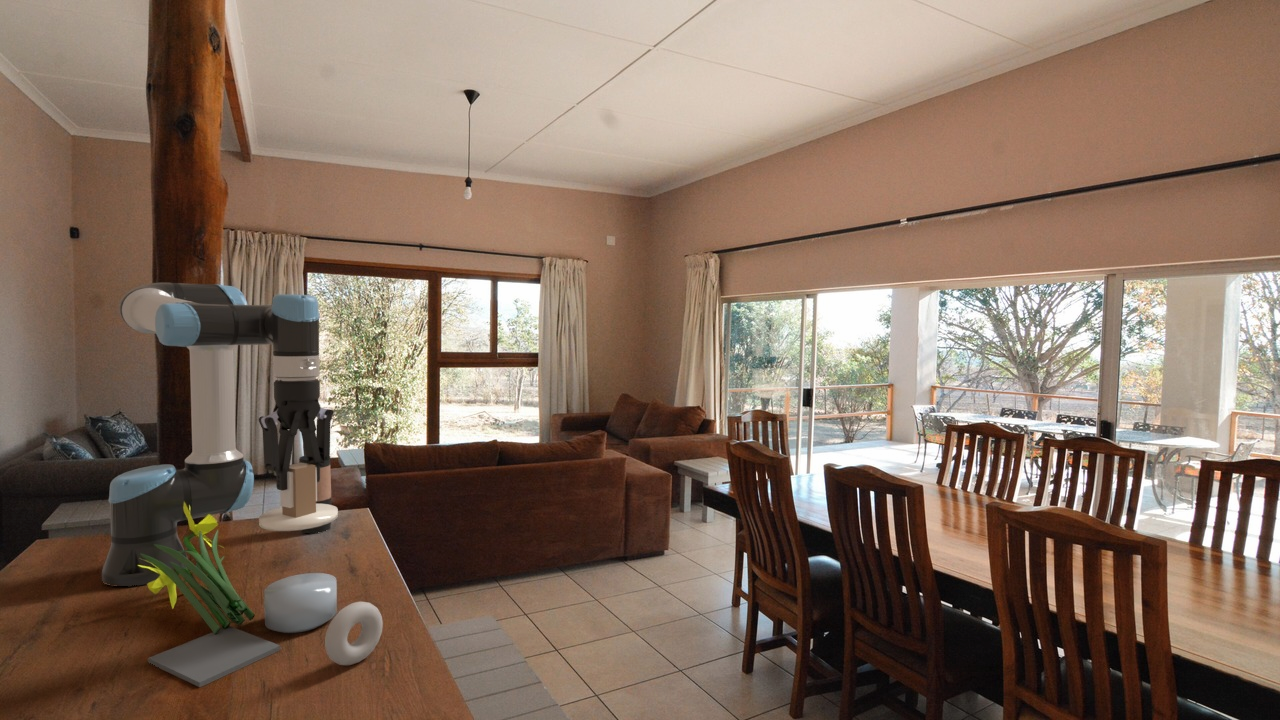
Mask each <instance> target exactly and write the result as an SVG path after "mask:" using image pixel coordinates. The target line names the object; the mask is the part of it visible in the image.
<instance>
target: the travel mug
mask: <svg viewBox="0 0 1280 720" xmlns="http://www.w3.org/2000/svg"><path fill="white" fill-rule="evenodd" d="M298 461H299V462H298V463H307V464H308V462H307V457H306V454H305V455H302V456H300V457H299V459H298ZM331 474H332V472H331V458H330V459H329V460H328V461H324V465H323V466H320V481H319V482H317V501H316V504H329V505H332V480H331V479H332V478H331V477H332V476H331ZM331 523H332V522H330V523H328V524H325V525H322V526H318V527H314V528H309V529H303V530H300V531H301V533H302V532H303V533H302V534H305V533H316V534H319V533H318V532H322V531H325V532H327V531H326V530H328V529H329V530H330V529H331V525H332V524H331ZM329 530H328V531H329ZM322 533H323V532H322Z"/></svg>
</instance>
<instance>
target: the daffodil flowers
mask: <svg viewBox="0 0 1280 720" xmlns="http://www.w3.org/2000/svg"><path fill="white" fill-rule="evenodd" d="M183 509H184V513H185V515H186V517H187V519H188V520H187V521H188V522H187V523H188V526H189V527H188V528H189V530H186V531H185V532H184V535H183V538H182V541H183V543H182V544H184V547H185V548H186V549H184V550H181V551H176V550H174V549H172V548H169V547H165V546H162V545H157V544H154V545H155V546H156V547H157V548H159V549H161V550H163V551H164V552H166V553H168V554H169V555H171V556H173V557H174V558H176V559H177V560H178V561H179V562H181V563H182V564H183V565H184V566H186V567H187V569H186V568H183V567H180V566H178V565H177V564H175V563H173V562H171V561H170V563H171V564H172V566H173V567H174V568H173V569H171V568H170V567H168V566H167V565H165V564H164V563H162V562H160V561H158V560H156V559H154V558H152V557H150V556H147V555H144V554H141V553H140V555H141V556H143V557H144V558H145V559H147V560H148V561H149V563H150V562H151V564H153V565H154V566H155V567H157V568H158V569H156V568H152V567H147V566H141V565H138V566H140V567H143V568H148V569H150V570H153V571H155V572H156V573H158V574H160V576H159V577H158V578H157V579H156V580H154V581H152V582H149V583H148V584H146V585H147V587H148V590H149V592H151V593H153V594H155V595H157V594H158V593H159V592H160V591H161V590H162V589H163V588H164V587H165V586H166V588H167V592H168V597H169V602H170V605H171V609H172V610H173V609H174V607H175V605H176V603H177V597H178V595H177V588H178V589H179V591H180V592H181V593H182V594H183V596H184V598H186V599H187V600H188V603H190V605H191V606H192V607H193V608H194V609H195V611H196V612H197V613H198V614H199V616H200V617H201V618H202V619H203V620H204V623H206V624H207V626H208V627H209V629H210V630H211V631H212V632H213V633H214V634H215V635H216V634H217V633H218V632H219V630H220V629H221V627H222V628H228V627H229V626H231V623H232V624H233V623H234V624H236V625H237V627H240V626H241V625H242V624H243V623H244V622H245V620H246V619H245V618H244V617H243V614H244V615H245V616H246V618H247V619H248V620H249V621H252V620H253V619H254V617H256V616H255V615H256V614H255V613H254V612H253V610H251V609H250V607H249V606H248V605H247V604H246V603H245V601H244V600H243V599H242V597H240V595H239V594H238V593H237V592H236V590H235V588H234V586H233V585H232V583H231V581H230V580H229V577H228V575H227V573H226V571H225V569H224V566H223V564H222V561H223V560H224V559H225V555H224V556H222V557H220V555H219V551H218V547H221V548H223V549H225V546H223V545H220V544H218V536H219V529H217V530H216V532H215V533H214V536H213V539H212V540H211V539H210V537H208V536H207V535H205V534H208V533H210V532H211V531H213V530H214V529H215V528H217V526H218V525H219V523H218V521H217V519H216V517H214V515H210V514H209V515H207V516H204V517H203V519H202V520H201V521H200V522H198V523H197V524H196V523H195V521H194V518H193V519H192V517H191V515H190V512H189V510H188V508H187V506H186V504H185V502H184V506H183ZM189 509H190V505H189ZM194 537H195V538H196V537H197V538H198V541H199V542H198V543H199V551H200V553H199V552H198V551H197V549H196V548H195V547H194V545H193V544H192V543H191V540H192V539H193V538H194ZM205 543H206V544H208V546H209V547H211V548H210V549H211V552H212V555H213V559H214V562H215V564H216V566H215V564H214V563H213V562H212V559H211V558H210V555H209V553H208V549H207V547H206V544H205ZM182 552H185V553H186V554H189V555H190V556H191V557H192V558H194V560H195V561H196V563H195V564H194V563H193V562H192V561H191V560H190V559H189V558H188V557H187V558H186V557H185V556H183V555H182V554H181V553H182ZM140 559H141V558H140ZM142 560H143V559H142ZM147 560H145V561H147ZM148 561H147V562H148ZM181 577H182V578H181ZM195 577H197V578H198V579H199V581H201V583H203V584H204V585H205V586H206V587H205V586H203V585H201V584H200V583H199V582H198V581H197V579H196V578H195ZM183 579H184V580H183ZM186 583H187V584H188V586H187V584H186ZM190 588H192V589H193V590H194V591H195V593H196V594H197V595H198V596H199V598H200V599H201V600H202V602H204V605H206V607H207V608H208V609H209V611H210V612H209V611H208V610H207V608H206V607H205V606H204V605H203V604H202V602H201V601H200V600H199V599H198V598H197V596H196V594H194V593H193V591H191V589H190ZM210 613H211V614H212V615H213V616H214V617H215V619H214V617H213V616H212V615H211V614H210ZM216 620H217V621H216ZM218 623H219V624H220V625H219V624H218ZM220 626H221V627H220Z"/></svg>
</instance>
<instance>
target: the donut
mask: <svg viewBox="0 0 1280 720" xmlns="http://www.w3.org/2000/svg"><path fill="white" fill-rule="evenodd" d="M383 622H384V621H383V617H382V614H381V612H380V610H379V609H378V607H377V606H375V605H374V604H372V603H371V602H366V601H355V602H352V603H350V604H347V605H346V606H344V607H343V608H341V609H340V610H339V611H337V613H336V615H335V616H334V617H333V618H332V619H331V620H330V622H329V625H328V626H327V629H326V633H325V638H324V647H325V651H326V652H325V653H326V654H327V657H329V659H330V660H331V661H332V662H333V663H336V664H337V665H340V666H351V665H354V664H357V663H360V662H361V661H363V660H364V659H366V658H367V657H368V656H369V655H370V654H371V653H372V652H373V651H374V650H375V648H376V647H377V644H379V641H380V638H381V635H382V633H383V625H384V624H383ZM357 624H360V625H361V631H360V633H359V635H358V637H357V638H356V639H355V640H354V641H352V642H349V641H348V637H349V633H350V631H351V629H353V627H354V626H355V625H357Z"/></svg>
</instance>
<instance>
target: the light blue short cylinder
mask: <svg viewBox="0 0 1280 720" xmlns="http://www.w3.org/2000/svg"><path fill="white" fill-rule="evenodd" d="M337 582H338V581H337V578H336V577H335V576H334V575H332V574H330V573H329V574H328V573H322V572H309V573H308V572H307V573H300V574H295V575H291V576H287V577H284V578H281V579H278V580H276V581H274V582H272V583H270V584H269V585H267V586H266V587H265V589H264V591H263V592H264V594H263V595H264V596H263V597H264V625H265V627H266V628H267V629H269V630H271V631H275V632H279V633H283V634H297V633H302V632H308V631H310V630H314V629H317V628H318V627H321V626H323V625H324V624H325V623H327V622H329V621H331V620H333V618H334V617H335V615H336V614H337V613H338V596H337V595H338V591H337V590H338V588H337V586H338V585H337Z"/></svg>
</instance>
